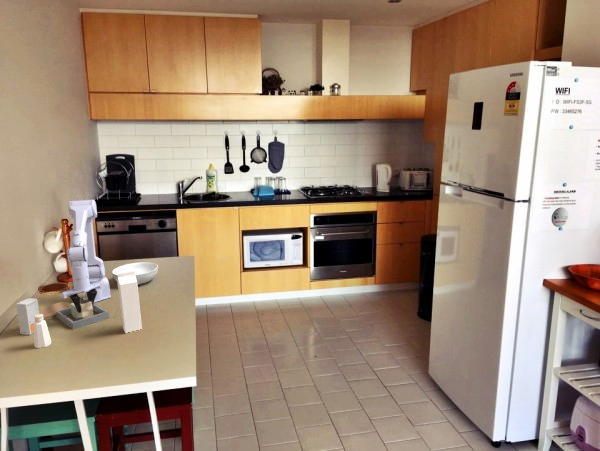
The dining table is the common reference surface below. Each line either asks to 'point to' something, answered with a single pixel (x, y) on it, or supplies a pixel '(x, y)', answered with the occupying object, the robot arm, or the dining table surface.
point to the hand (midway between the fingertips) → (85, 310)
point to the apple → (70, 284)
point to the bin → (102, 315)
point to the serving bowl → (138, 271)
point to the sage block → (74, 311)
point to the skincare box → (27, 315)
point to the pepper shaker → (41, 332)
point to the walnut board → (53, 309)
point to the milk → (129, 301)
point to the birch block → (86, 308)
